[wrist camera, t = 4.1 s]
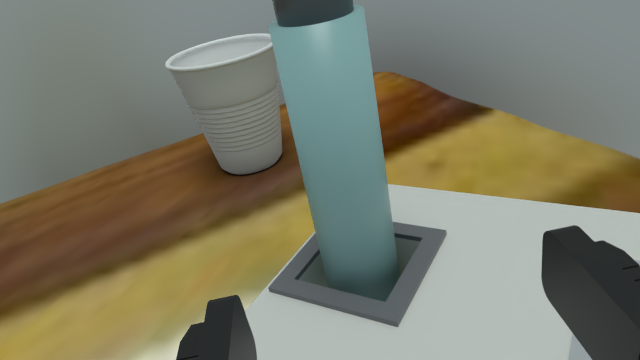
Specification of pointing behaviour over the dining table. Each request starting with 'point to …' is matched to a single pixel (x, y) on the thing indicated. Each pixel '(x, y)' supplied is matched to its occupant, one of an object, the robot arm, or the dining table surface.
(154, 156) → the dining table surface
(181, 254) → the dining table surface
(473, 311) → the panel
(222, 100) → the cup
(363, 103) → the plug
